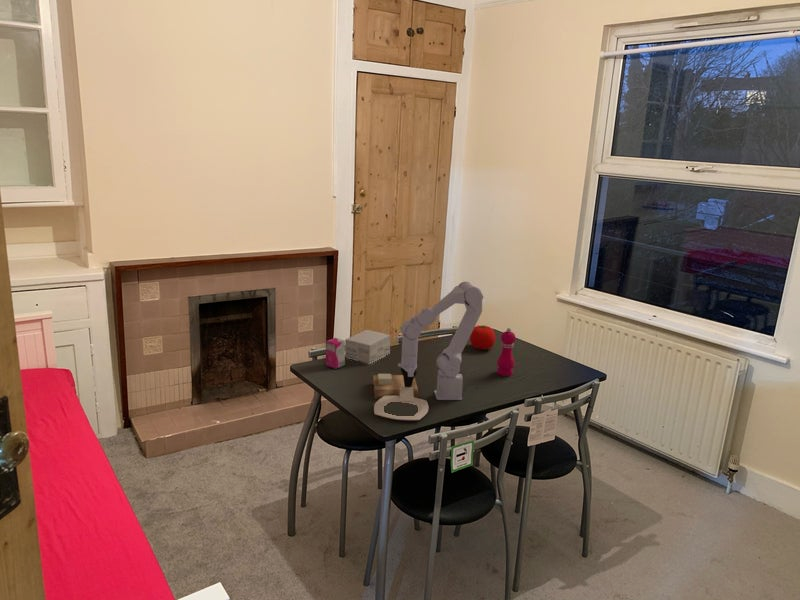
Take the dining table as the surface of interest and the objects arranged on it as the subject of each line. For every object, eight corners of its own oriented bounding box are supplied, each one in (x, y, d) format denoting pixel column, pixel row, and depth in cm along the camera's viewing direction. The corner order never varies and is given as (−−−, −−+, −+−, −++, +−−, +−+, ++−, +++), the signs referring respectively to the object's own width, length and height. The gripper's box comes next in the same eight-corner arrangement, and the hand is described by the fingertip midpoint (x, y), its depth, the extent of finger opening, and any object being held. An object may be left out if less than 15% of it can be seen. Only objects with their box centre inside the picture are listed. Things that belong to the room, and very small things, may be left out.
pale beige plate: (423, 427, 202) (423, 422, 201) (368, 420, 206) (368, 414, 205) (432, 404, 220) (432, 399, 220) (381, 397, 224) (381, 392, 223)
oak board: (413, 383, 237) (413, 375, 236) (417, 398, 223) (418, 389, 222) (373, 383, 235) (373, 375, 234) (374, 398, 222) (375, 389, 221)
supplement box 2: (365, 348, 274) (366, 329, 272) (390, 354, 268) (390, 334, 266) (344, 359, 260) (344, 338, 258) (369, 365, 254) (370, 344, 251)
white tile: (413, 392, 221) (413, 387, 220) (413, 401, 217) (413, 396, 216) (399, 391, 221) (399, 386, 220) (399, 400, 217) (399, 395, 216)
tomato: (490, 343, 288) (492, 322, 285) (496, 353, 275) (498, 330, 272) (466, 343, 287) (468, 321, 284) (471, 352, 274) (473, 330, 271)
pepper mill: (493, 374, 250) (497, 328, 245) (499, 368, 256) (503, 324, 251) (510, 377, 247) (514, 331, 241) (515, 372, 253) (520, 327, 248)
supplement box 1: (335, 362, 255) (335, 337, 252) (345, 366, 251) (345, 340, 248) (325, 366, 251) (325, 340, 248) (335, 369, 247) (335, 343, 244)
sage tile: (390, 379, 231) (391, 373, 230) (391, 384, 226) (392, 378, 225) (377, 379, 230) (378, 373, 229) (378, 384, 225) (378, 378, 225)
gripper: (396, 346, 224) (395, 379, 228) (400, 360, 210) (398, 395, 214) (415, 346, 225) (413, 379, 228) (420, 360, 211) (418, 395, 214)
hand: (407, 387), depth 221 cm, fingers closed
